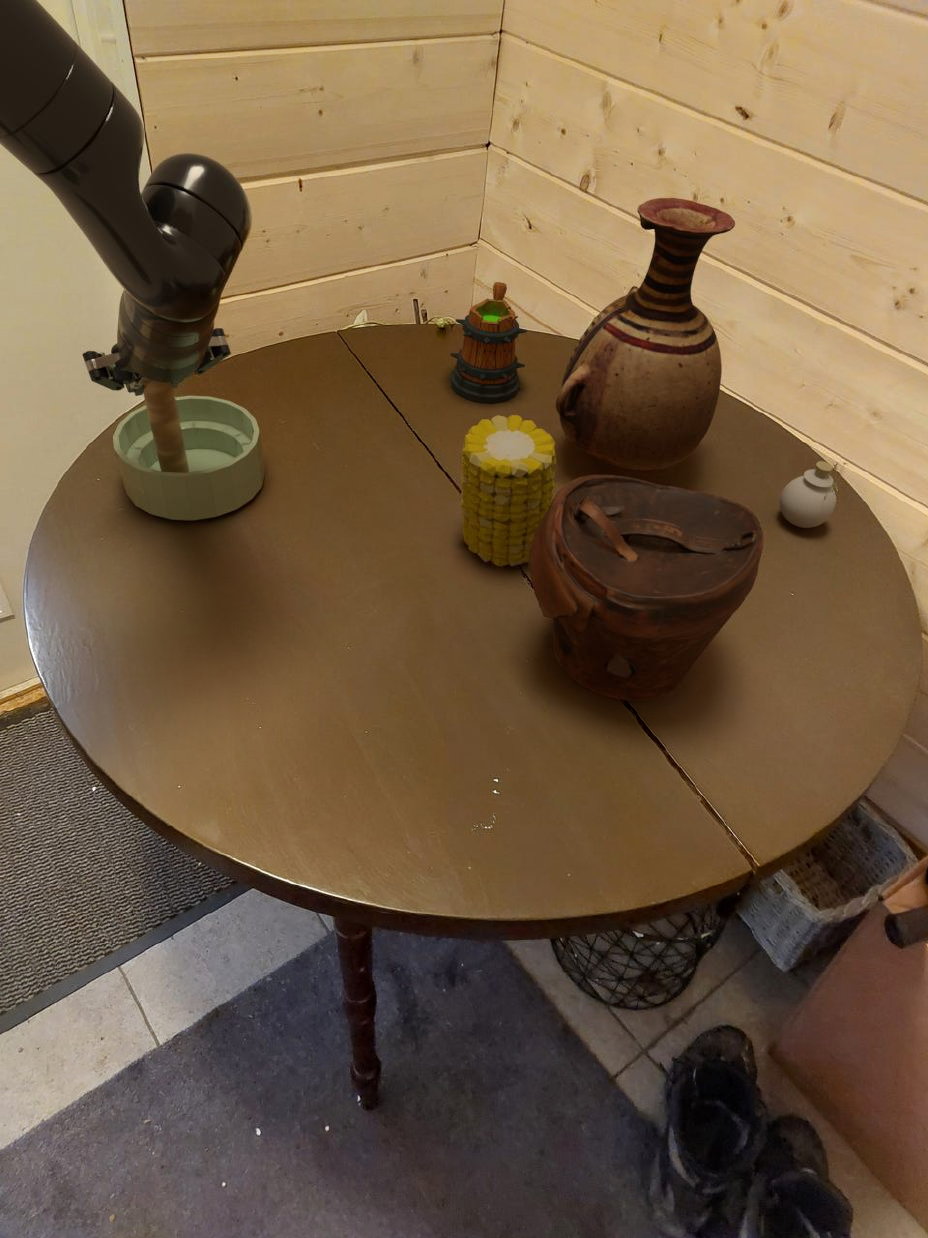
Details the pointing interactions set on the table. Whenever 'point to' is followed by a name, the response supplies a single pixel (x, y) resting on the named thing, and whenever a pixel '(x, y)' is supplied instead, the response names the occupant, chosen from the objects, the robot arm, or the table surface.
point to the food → (505, 487)
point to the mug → (488, 351)
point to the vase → (649, 354)
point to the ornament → (810, 497)
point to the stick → (165, 426)
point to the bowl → (193, 460)
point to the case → (639, 579)
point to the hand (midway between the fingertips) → (152, 382)
